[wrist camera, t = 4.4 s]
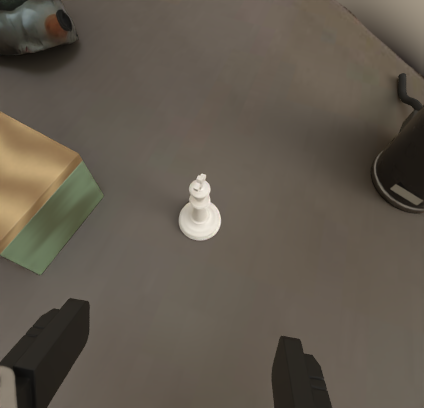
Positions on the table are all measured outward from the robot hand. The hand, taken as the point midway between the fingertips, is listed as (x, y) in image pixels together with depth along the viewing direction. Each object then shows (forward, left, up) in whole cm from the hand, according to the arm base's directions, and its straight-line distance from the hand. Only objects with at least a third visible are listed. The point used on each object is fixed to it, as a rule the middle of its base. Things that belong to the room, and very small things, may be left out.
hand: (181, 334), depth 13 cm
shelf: (-4, -26, -21) cm, 33 cm away
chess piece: (-12, -6, -21) cm, 25 cm away
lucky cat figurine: (-25, -43, -21) cm, 54 cm away
